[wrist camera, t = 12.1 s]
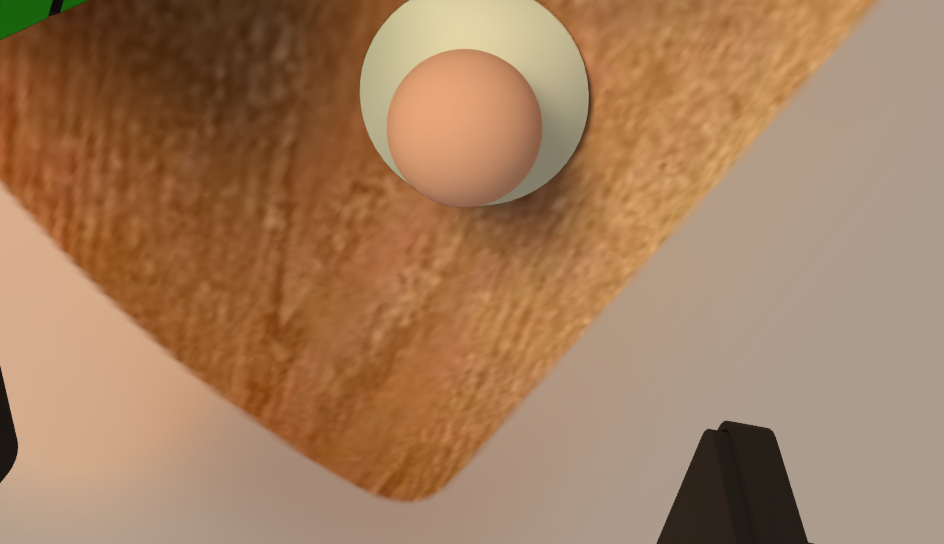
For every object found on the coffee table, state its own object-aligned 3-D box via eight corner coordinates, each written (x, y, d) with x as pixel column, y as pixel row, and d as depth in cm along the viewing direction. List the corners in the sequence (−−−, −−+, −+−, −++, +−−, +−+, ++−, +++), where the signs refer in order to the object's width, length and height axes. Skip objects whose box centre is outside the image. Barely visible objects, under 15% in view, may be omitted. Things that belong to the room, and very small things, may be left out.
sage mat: (614, 7, 26) (615, 9, 26) (559, 220, 30) (559, 223, 30) (373, -41, 26) (371, -39, 26) (351, 180, 30) (350, 183, 30)
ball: (560, 46, 26) (555, 97, 22) (528, 181, 29) (519, 249, 25) (412, 16, 26) (380, 61, 22) (394, 153, 29) (363, 216, 25)
